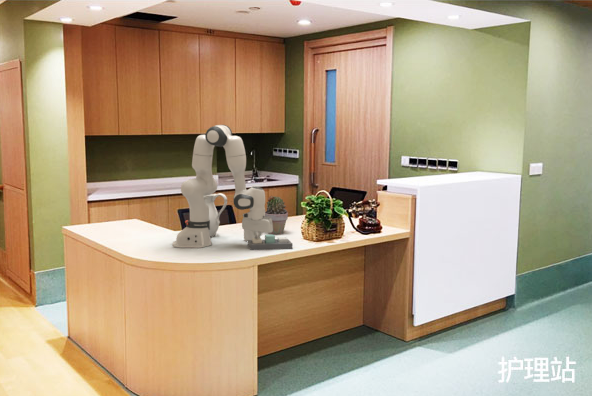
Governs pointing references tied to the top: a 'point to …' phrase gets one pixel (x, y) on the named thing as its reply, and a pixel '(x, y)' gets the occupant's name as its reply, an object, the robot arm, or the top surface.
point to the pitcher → (214, 211)
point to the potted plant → (277, 214)
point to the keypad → (269, 245)
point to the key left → (256, 240)
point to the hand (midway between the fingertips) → (257, 238)
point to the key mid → (269, 238)
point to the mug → (249, 235)
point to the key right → (282, 240)
